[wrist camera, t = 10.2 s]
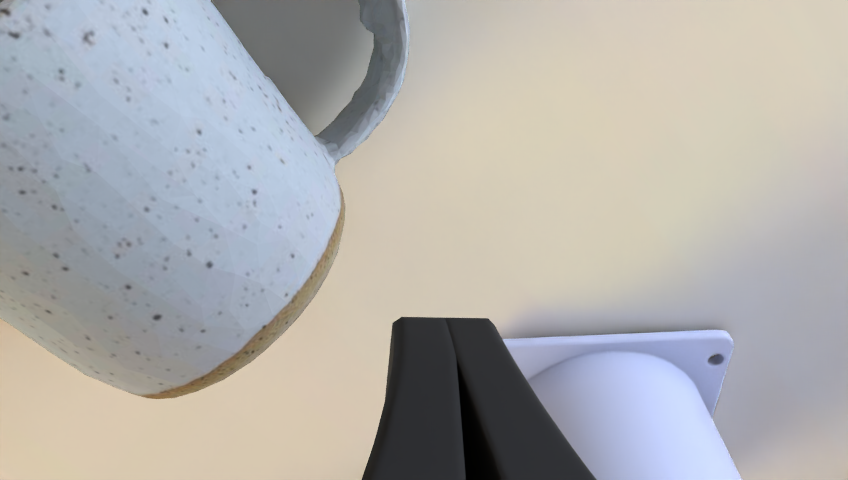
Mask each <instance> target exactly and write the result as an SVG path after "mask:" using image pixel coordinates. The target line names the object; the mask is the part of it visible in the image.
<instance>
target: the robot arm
mask: <svg viewBox="0 0 848 480" xmlns="http://www.w3.org/2000/svg"><path fill="white" fill-rule="evenodd" d="M733 348H734V342H733V340H732V339H731V337H730V335H729V333H728V332H726V331H724V330H698V331H675V332H652V333H629V334H606V335H583V336H561V337H538V338H515V339H502V338H501V336H500V335H499V333H498V331H497V329H496V327H495V326H494V324H493V323H492V322H491V321H490V320H489V319H487V318H426V317H401V318H400V319H398V320H397V321H395V322H394V323H393V325H392V336H391V346H390V356H389V366H388V376H387V386H386V397H385V404H384V407H383V411H382V415H381V419H380V423H379V427H378V431H377V435H376V438H375V441H374V445H373V448H372V451H371V454H370V457H369V460H368V463H367V466H366V469H365V472H364V475H363V477H362V480H742V479H741V477H740V475H739V473H738V471H737V469H736V467H735V465H734V463H733V461H732V459H731V457H730V455H729V452H728V450H727V448H726V446H725V444H724V442H723V440H722V438H721V436H720V434H719V432H718V430H717V428H716V426H715V424H714V422H713V420H712V417H713V414H714V411H715V407H716V404H717V401H718V397H719V394H720V391H721V387H722V384H723V381H724V377H725V374H726V371H727V367H728V364H729V361H730V357H731V354H732V351H733ZM716 354H717V355H716ZM713 355H716V356H714V357H711V356H713ZM710 357H711V358H710Z"/></svg>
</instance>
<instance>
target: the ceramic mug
mask: <svg viewBox="0 0 848 480" xmlns="http://www.w3.org/2000/svg"><path fill="white" fill-rule="evenodd" d="M357 1H358V3H359V5H360V21H361V22H362V23H363V25H364V26H365V27H366V29H367V30H369V31H370V32H372V33H374V49H373V52H372V56H371V60H370V63H369V67H368V71H367V75H366V77H365V79H364V81H363V83H362V84H361V86H360V87H359V89H358V90H357V91H356V92H355V93H354V95H353V98H352V100H351V102H350V103H349V104H348V105H347V106H346V107H345V108H344V109H343V110H342V111H341V112H340V114H339V115H338V116H337V117H336V118H335V120H334V121H333V122H332V123H331V124H329V125H328V126H327V127H326V128H325V129H324V130H323V131H322V132H320V133H319V134H318V135H316V136H313V135H312V133H311V132H310V131H309V130H308V128H307V127H306V126H305V125H304V124H303V122H302V121H301V119H300V118H299V117H298V115H297V114H296V113H295V111H294V110H293V109H292V108H291V106H290V105H289V104H288V103H287V101H286V100H285V99H284V97H283V96H282V95H281V93H280V92H279V90H278V89H277V87H276V86H275V84H274V83H273V81H272V80H271V78H269V77H267V76H265V75H264V74H263V73H262V71H261V70H260V68H259V67H258V66H257V64H256V63H255V62H254V60H253V59H252V58H251V56H250V55H249V53H248V52H247V51H246V49H245V48H244V47H243V45H242V44H241V42H240V40H239V39H238V38H237V36H236V35H235V33H234V32H233V31H232V29H231V28H230V26H229V25H228V24H227V22H226V21H225V19H224V18H223V17H222V15H221V14H220V12H219V11H218V10H217V8H216V7H215V6H214V4H213V3H212V2H211V1H210V0H0V318H1V319H2V320H4V321H5V322H7V323H8V324H10V325H12V326H13V327H14V328H16V329H17V330H19V331H20V332H22V333H23V334H25V335H26V336H27V337H29V338H30V339H32V340H33V341H35V342H36V343H38V344H39V345H40V346H42V347H43V348H45V349H46V350H48V351H49V352H51V353H52V354H54V355H55V356H57V357H58V358H60V359H61V360H63V361H65V362H66V363H68V364H69V365H71V366H72V367H74V368H76V369H77V370H79V371H80V372H82V373H83V374H85V375H87V376H89V377H92V378H94V379H97V380H99V381H101V382H104V383H106V384H108V385H111V386H113V387H116V388H118V389H121V390H123V391H126V392H129V393H131V394H135V395H138V396H142V397H146V398H152V399H164V398H175V397H179V396H182V395H186V394H189V393H193V392H196V391H199V390H201V389H203V388H206V387H208V386H210V385H212V384H215V383H217V382H219V381H221V380H224V379H225V378H227V377H228V376H230V375H231V374H233V373H235V372H236V371H238V370H239V369H241V368H242V367H244V366H245V365H247V364H248V363H250V362H251V361H253V360H254V359H255V358H256V357H257V356H259V355H260V354H261V353H262V352H264V351H265V350H266V349H267V348H268V347H269V346H270V345H271V344H272V343H273V342H274V341H275V340H276V339H278V338H279V337H280V336H281V335H282V334H283V333H284V332H285V331H286V330H287V329H288V328H289V327H290V326H291V325H292V323H293V322H294V321H295V320H296V319H297V318H298V317H299V316H300V315H301V313H302V312H303V311H304V309H305V308H306V307H307V306H308V304H309V303H310V302H311V300H312V299H313V298H314V297H315V295H316V294H317V292H318V290H319V288H320V287H321V285H322V283H323V281H324V280H325V278H326V276H327V274H328V272H329V270H330V268H331V266H332V264H333V261H334V259H335V257H336V255H337V253H338V249H339V244H340V240H341V236H342V232H343V226H344V220H345V203H344V197H343V193H342V190H341V188H340V185H339V183H338V181H337V178H336V176H335V165H336V164H337V162H338V161H339V160H340V159H341V158H343V157H345V156H347V155H349V154H351V153H352V151H353V150H354V149H355V148H356V147H357V146H358V145H360V144H361V143H362V142H364V141H365V140H366V139H367V138H368V137H369V135H370V134H371V132H372V131H373V130H374V129H375V128H376V127H377V126H378V124H379V123H380V122H381V121H382V120H383V119H384V117H385V116H386V114H387V112H388V110H389V108H390V107H391V105H392V103H393V101H394V99H395V98H396V96H397V94H398V93H399V90H400V88H401V85H402V83H403V80H404V76H405V70H406V65H407V59H408V54H409V30H410V26H409V20H408V14H407V10H406V6H405V0H357Z"/></svg>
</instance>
